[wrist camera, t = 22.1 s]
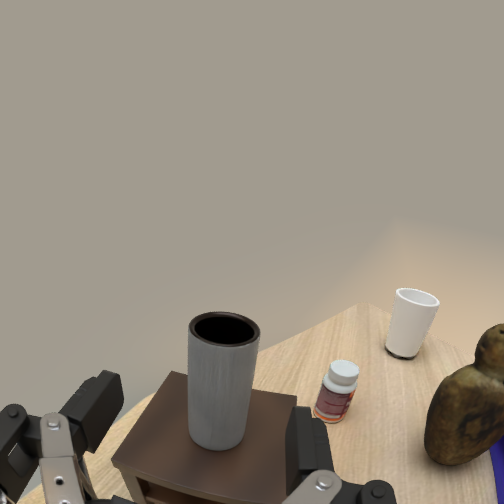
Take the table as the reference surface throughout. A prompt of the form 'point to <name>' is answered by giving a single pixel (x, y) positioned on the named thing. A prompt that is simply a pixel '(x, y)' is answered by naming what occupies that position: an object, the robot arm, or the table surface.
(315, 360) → the table surface
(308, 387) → the table surface
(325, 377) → the pill bottle
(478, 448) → the sculpture
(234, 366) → the planter
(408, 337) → the cup
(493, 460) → the stapler
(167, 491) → the plant stand
